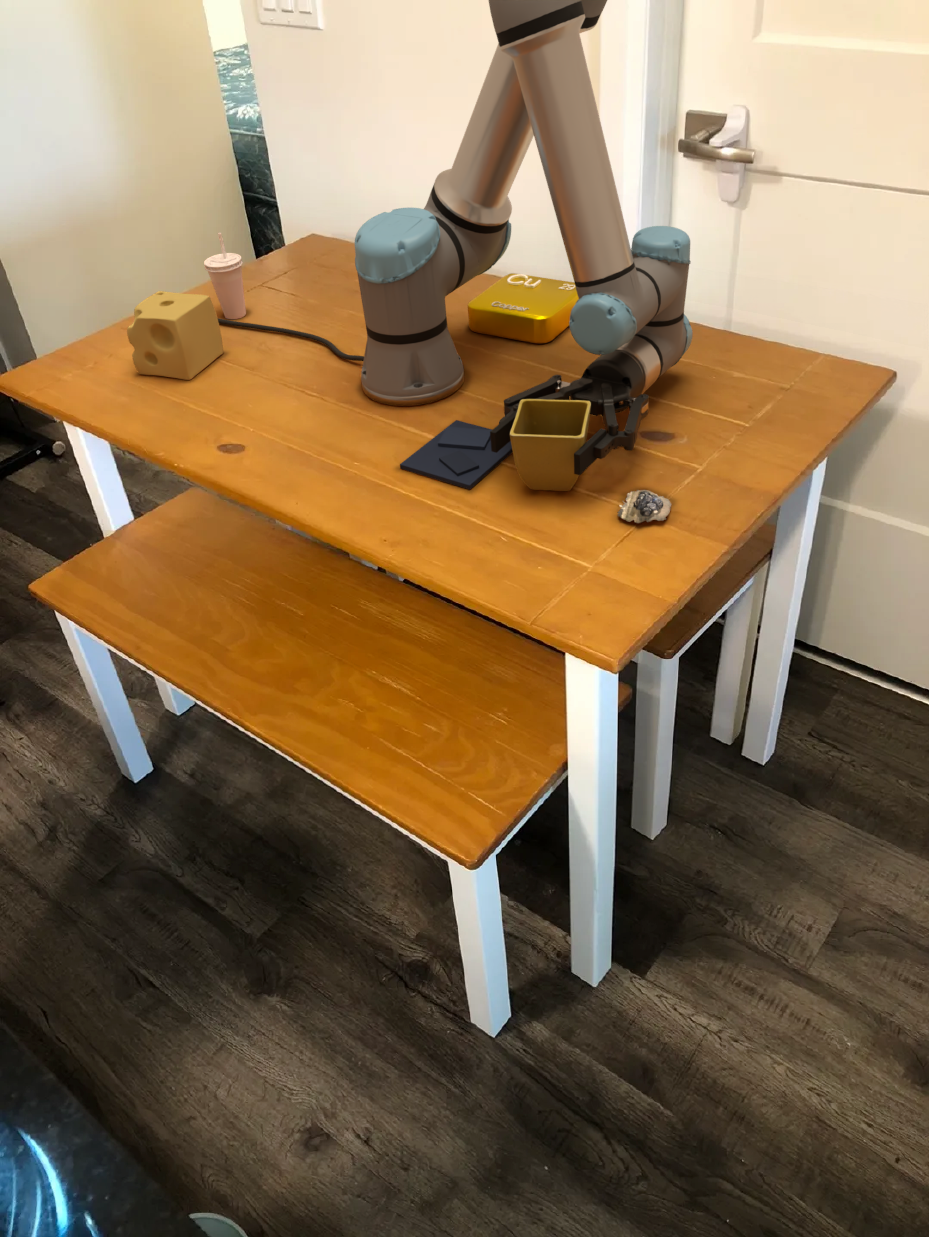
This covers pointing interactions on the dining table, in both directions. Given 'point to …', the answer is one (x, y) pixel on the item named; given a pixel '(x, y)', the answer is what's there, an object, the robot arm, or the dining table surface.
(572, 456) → the flower pot
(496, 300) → the element tile
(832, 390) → the dining table surface
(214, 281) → the smoothie
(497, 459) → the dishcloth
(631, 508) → the grey mineral rock
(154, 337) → the cheese
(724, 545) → the dining table surface
